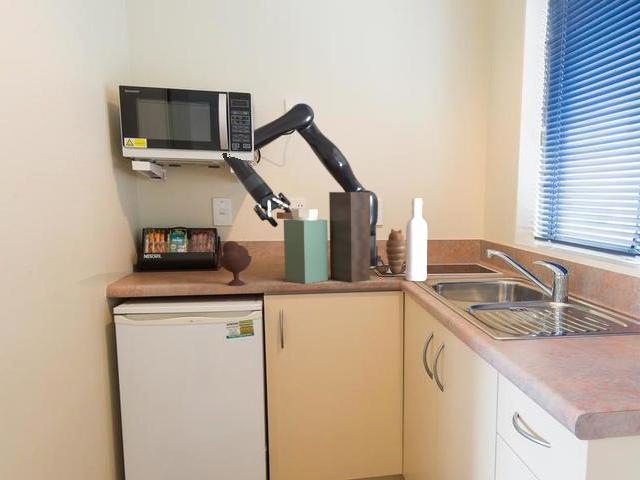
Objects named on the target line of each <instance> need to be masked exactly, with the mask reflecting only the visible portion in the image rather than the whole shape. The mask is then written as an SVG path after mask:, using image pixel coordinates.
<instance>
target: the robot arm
mask: <svg viewBox="0 0 640 480" xmlns="http://www.w3.org/2000/svg"><path fill="white" fill-rule="evenodd" d="M314 119H315V112H314V110H313V108H312V107H311V106H310V105H309V104H307V103H303V102H300V103H296V104H294V105H293V106H292V107H291V108H290V109H289V110H287V112H285V113H284V114H282V115H281V116H279V117H278V118H276V119H274V120H272V121H270V122H268V123H266V124H264V125H262V126H259V127H257V128H256V129H253V130H254V152H253V153H255V152H257V151H259V150H261V149H263V148H264V147H266V146H268V145H270V144H271V143H273V142H275V141H276V140H277V139H280V138H281V137H282V136H284V135H286V134H288V133H290V132H292V131H296V132H297V133H298V134H299V136H300V137H302V139H303V140H304V141H305V142H306V144H307V145H308V146H309V147H310V149H311V151H312V152H313V153H314V155H315V156H316V157H317V159H318V160H319V162H320V163H321V164H322V166H323V167H324V168H325V170H326V171H327V172H328V173H329V175H330V176H331V177H332V178H333V180H335V182H336V183H337V184H338V185H339V186H340V187H341V189H342V190H343V192H365V193H370V270H375V269H377V268H379V267H378V266H379V263H381V265H382V266H383V267H390V266H389V264H385V263H384V260H383V259H382V256H381V255H379V254H378V252H379V247H378V245H377V224H378V219H379V218H378V217H379V216H378V215H379V200H378V196H377V194H376V193H375V192H373V191H372V190H370V189H369V190H368V189H366V188H365V187H364V186H363V184H361V183H360V181H359V180H358V179H357V178H356V175H355V174H354V172H353V169H352V167H351V164H350V163H349V161H348V159H347V158H346V156H345V155H344V154H343V152H342V151H341V149H340V148H339V147H338V146H337V145H336V144H335V143H334V142H333V141H331V140H330V139H329V138H328V137H327V136H325V134H323V133H322V131H321V130H320V129H319V127H318V126H317V124H316V123H315V121H314ZM222 155H223V158H224V160H225V161H224V162H223V163H224V164H225V165H226V166H228V167H230V169H231V170H232V171H233V174H234V176H235V177H236V178H237V180H238V181H239V182H240V183H241V185H242V186H243V187H244V189H245V190H246V192H247V193H248V194H249V195H250V196H251V198H252V199H253V200H254V202H255V203H256V204H255V206H254V207H253V211H254V212H255V213H256V215H257V217H258V218H259V219H260V220H261V221H262V222H265V221H268V223H269V224H270V225H271V227H273V228H277V227H278V226H279V223H278V222H277V221H276V219H275V217H273V216H272V212H273V211H274V210H276V209H278V210H282V211H284V212H291V213H292V209H291V208H290V206H291V202H290V200H289V199H288V198H287V197H286V195H284V194H283V192H282V191H281V192H279V193H278V194H277V195H276V194H274V191H273V189H271V187H270V186H269V185H268V184H267V182H266V181H265V180H264V178H263V177H262V176H261V175H260V174H259V173H258V172H257V171H256V169H254V167H253V166H252V165H251V164H250V162H248V160H247V159H246V160H247V161H246V160H241V159H238V158H235V157H230V156H229V157H230V158H229V157H227V153H223V154H222ZM229 155H230V154H229ZM263 210H264V211H263ZM404 264H406V260H405V261H403V265H404Z"/></svg>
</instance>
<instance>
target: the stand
mask: <svg viewBox="0 0 640 480" xmlns="http://www.w3.org/2000/svg"><path fill="white" fill-rule="evenodd" d="M328 198H329V199H328V201H329V204H328V205H329V206H328V207H329V277H330V278H329V279H330V280H331V281H338V282H345V283H357V282H363V281H369V280H371V269H370V193H365V192H345V191H329V192H328Z"/></svg>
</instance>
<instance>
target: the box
mask: <svg viewBox="0 0 640 480" xmlns="http://www.w3.org/2000/svg"><path fill="white" fill-rule="evenodd" d="M328 232H329V231H328V219H318V220H293V219H283V247H284V248H283V249H284V250H283V253H284V280H285V281H286V282H294V283H300V284H306V285H307V284H313V283H318V282H324V281H329V247H328V245H329V241H328V238H329V235H328Z"/></svg>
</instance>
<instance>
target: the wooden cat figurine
mask: <svg viewBox="0 0 640 480" xmlns="http://www.w3.org/2000/svg"><path fill="white" fill-rule="evenodd" d="M385 245H386V246H385V247H386V249H385V252H386V258H387V265H389V266H388V267H389V272H390V273H391V274H393V275H397V274H399V273H401V271H402V266H403V265H404V264H403V262H404V260H405V258H406V238H405V237H404V235H403V230H402V229H399V230H395V229H394V228H391V229H390V233H389V234H388V240H387V241H386V243H385Z"/></svg>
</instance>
